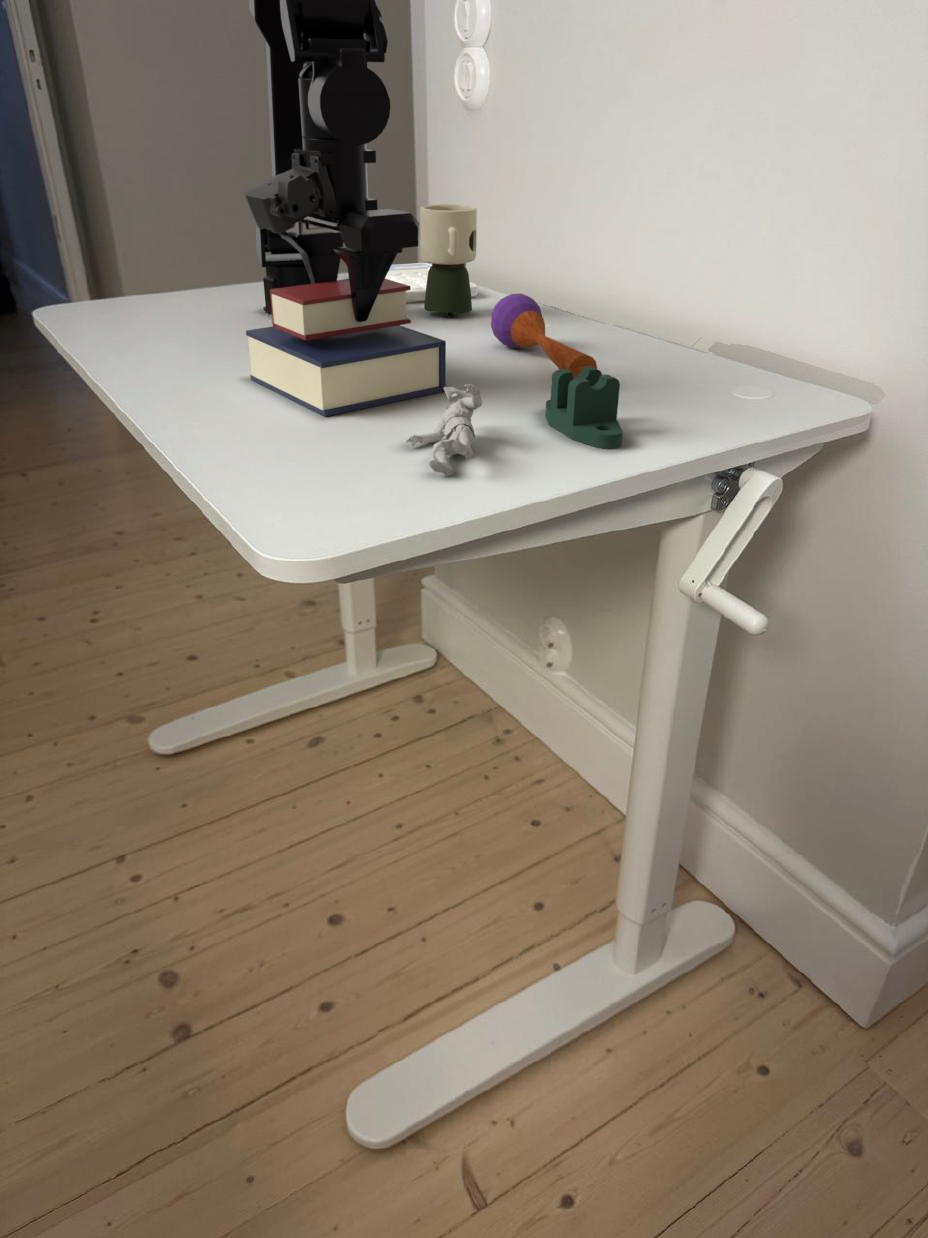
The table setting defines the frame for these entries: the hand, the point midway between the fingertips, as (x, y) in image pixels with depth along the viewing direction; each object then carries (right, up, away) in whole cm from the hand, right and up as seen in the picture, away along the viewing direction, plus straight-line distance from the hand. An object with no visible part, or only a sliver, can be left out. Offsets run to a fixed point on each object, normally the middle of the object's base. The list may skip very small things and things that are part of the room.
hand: (343, 314), depth 94 cm
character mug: (+10, +10, +32) cm, 35 cm away
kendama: (+20, -2, +12) cm, 24 cm away
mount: (+23, -13, -7) cm, 27 cm away
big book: (0, -6, +3) cm, 7 cm away
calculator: (+4, +19, +47) cm, 51 cm away
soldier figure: (+11, -16, -13) cm, 23 cm away
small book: (0, -1, 0) cm, 1 cm away
